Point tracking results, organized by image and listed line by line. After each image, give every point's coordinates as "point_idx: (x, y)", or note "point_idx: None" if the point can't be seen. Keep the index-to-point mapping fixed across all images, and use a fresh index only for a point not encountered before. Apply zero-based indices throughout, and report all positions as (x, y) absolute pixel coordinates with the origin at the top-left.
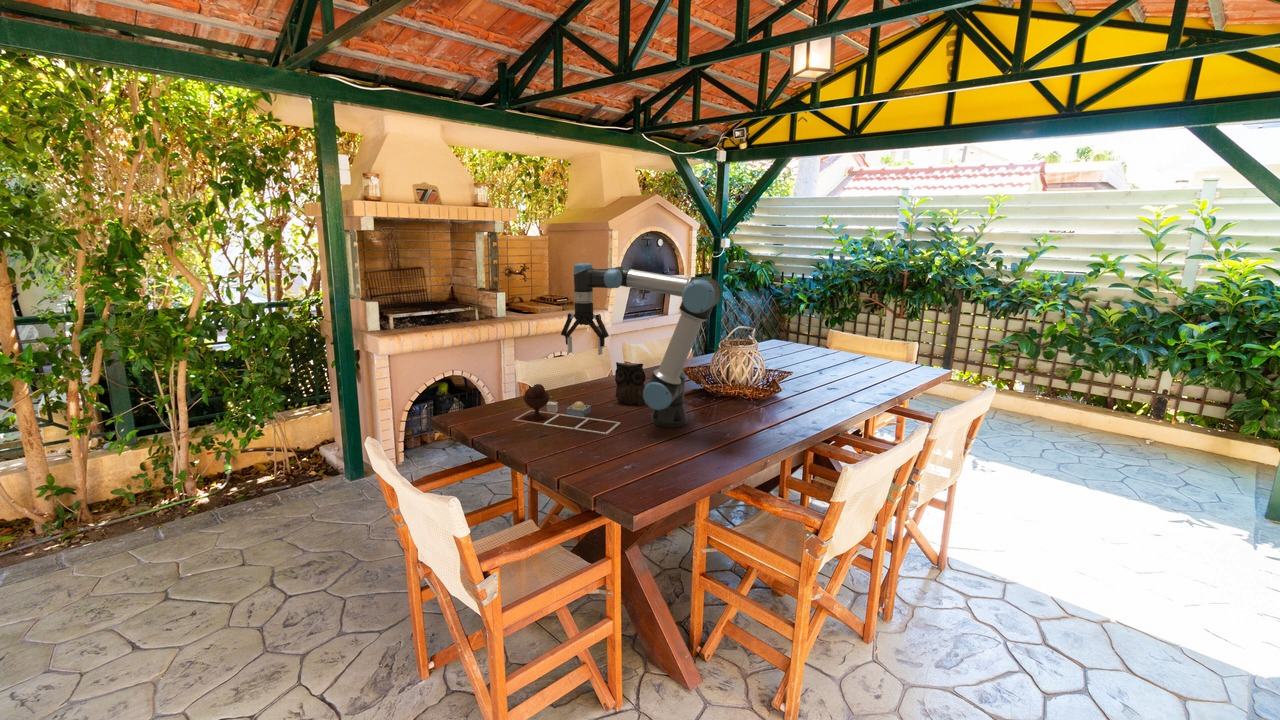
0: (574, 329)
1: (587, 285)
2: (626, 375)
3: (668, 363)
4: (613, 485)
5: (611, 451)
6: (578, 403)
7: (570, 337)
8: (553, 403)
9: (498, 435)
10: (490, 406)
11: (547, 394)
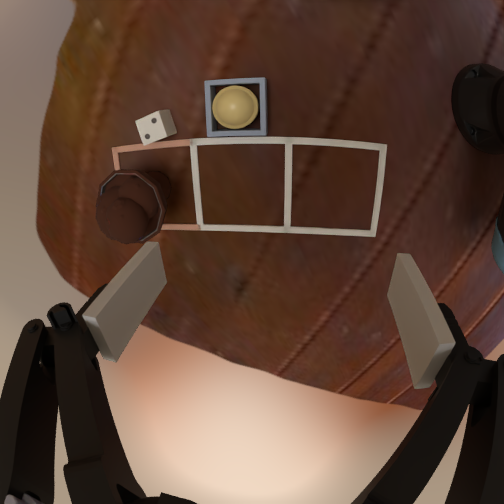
0: (91, 395)
1: None
2: None
3: None
4: (405, 386)
5: None
6: (236, 117)
7: (107, 338)
8: (155, 129)
9: (164, 306)
10: (42, 169)
11: (151, 196)
